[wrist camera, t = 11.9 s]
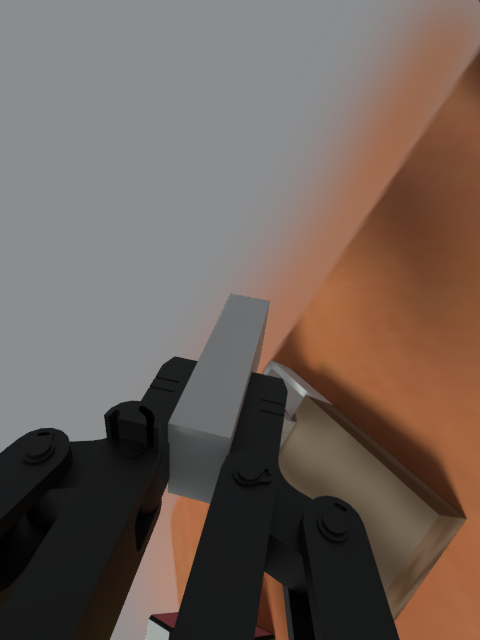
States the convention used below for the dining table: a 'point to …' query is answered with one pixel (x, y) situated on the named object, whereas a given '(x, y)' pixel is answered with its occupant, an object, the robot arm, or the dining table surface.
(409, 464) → the dining table surface
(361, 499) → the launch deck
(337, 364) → the dining table surface
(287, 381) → the grey open tray
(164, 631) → the puzzle cube
